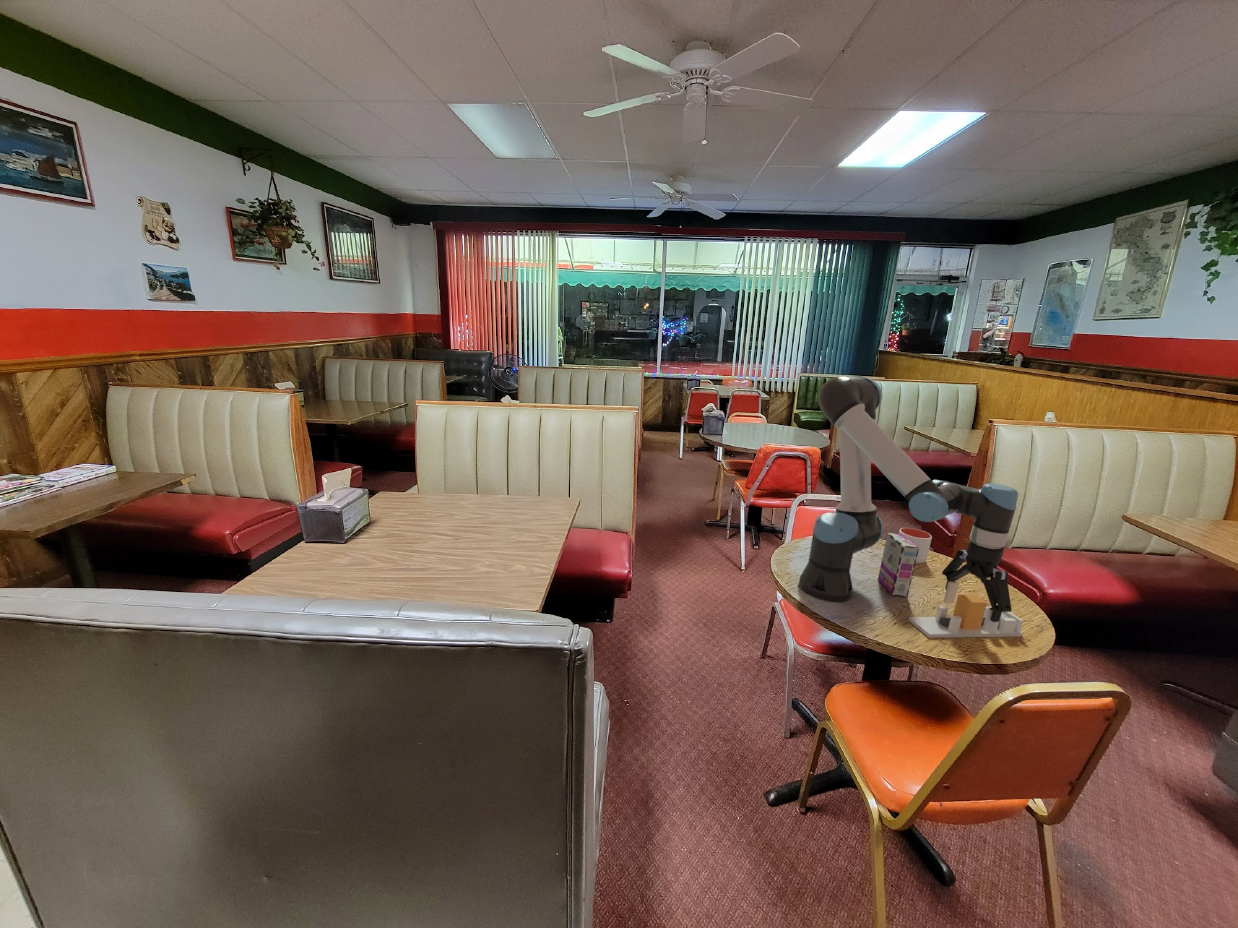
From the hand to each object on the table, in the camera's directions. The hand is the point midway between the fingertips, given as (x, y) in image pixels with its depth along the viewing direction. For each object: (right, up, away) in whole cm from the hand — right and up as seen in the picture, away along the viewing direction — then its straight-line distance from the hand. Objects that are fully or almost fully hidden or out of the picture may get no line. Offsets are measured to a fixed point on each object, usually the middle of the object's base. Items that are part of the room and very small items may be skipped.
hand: (967, 615), depth 132 cm
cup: (+11, +7, +44) cm, 46 cm away
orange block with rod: (+2, -3, +1) cm, 3 cm away
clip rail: (0, -4, +1) cm, 4 cm away
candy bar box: (-8, +2, +21) cm, 23 cm away
